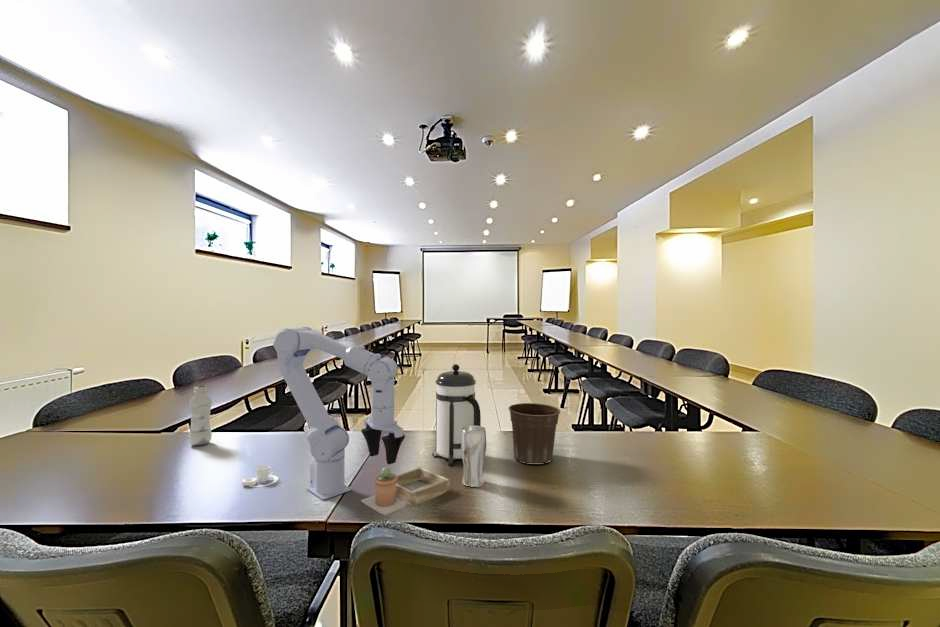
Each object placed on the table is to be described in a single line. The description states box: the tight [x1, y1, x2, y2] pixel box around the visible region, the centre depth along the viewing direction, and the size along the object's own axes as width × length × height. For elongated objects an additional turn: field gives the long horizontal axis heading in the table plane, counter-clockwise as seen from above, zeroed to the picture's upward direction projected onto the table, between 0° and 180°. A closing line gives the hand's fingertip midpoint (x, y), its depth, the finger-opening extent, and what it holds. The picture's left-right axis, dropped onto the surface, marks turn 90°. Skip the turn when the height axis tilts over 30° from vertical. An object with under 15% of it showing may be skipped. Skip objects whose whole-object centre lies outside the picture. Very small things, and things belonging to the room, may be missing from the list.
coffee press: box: [431, 363, 482, 466], centre depth 133 cm, size 17×16×30 cm
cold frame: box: [396, 466, 450, 507], centre depth 109 cm, size 12×12×3 cm
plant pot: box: [508, 402, 561, 464], centre depth 133 cm, size 16×16×16 cm
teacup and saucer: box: [241, 465, 280, 488], centre depth 114 cm, size 9×8×4 cm
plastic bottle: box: [188, 385, 213, 446], centre depth 144 cm, size 6×7×20 cm
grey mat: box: [360, 494, 406, 517], centre depth 102 cm, size 10×6×1 cm, turn 46°
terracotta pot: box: [373, 466, 398, 507], centre depth 102 cm, size 6×6×8 cm
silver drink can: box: [461, 425, 487, 487], centre depth 114 cm, size 7×7×15 cm
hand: (382, 459), depth 106 cm, fingers open, 7 cm apart
